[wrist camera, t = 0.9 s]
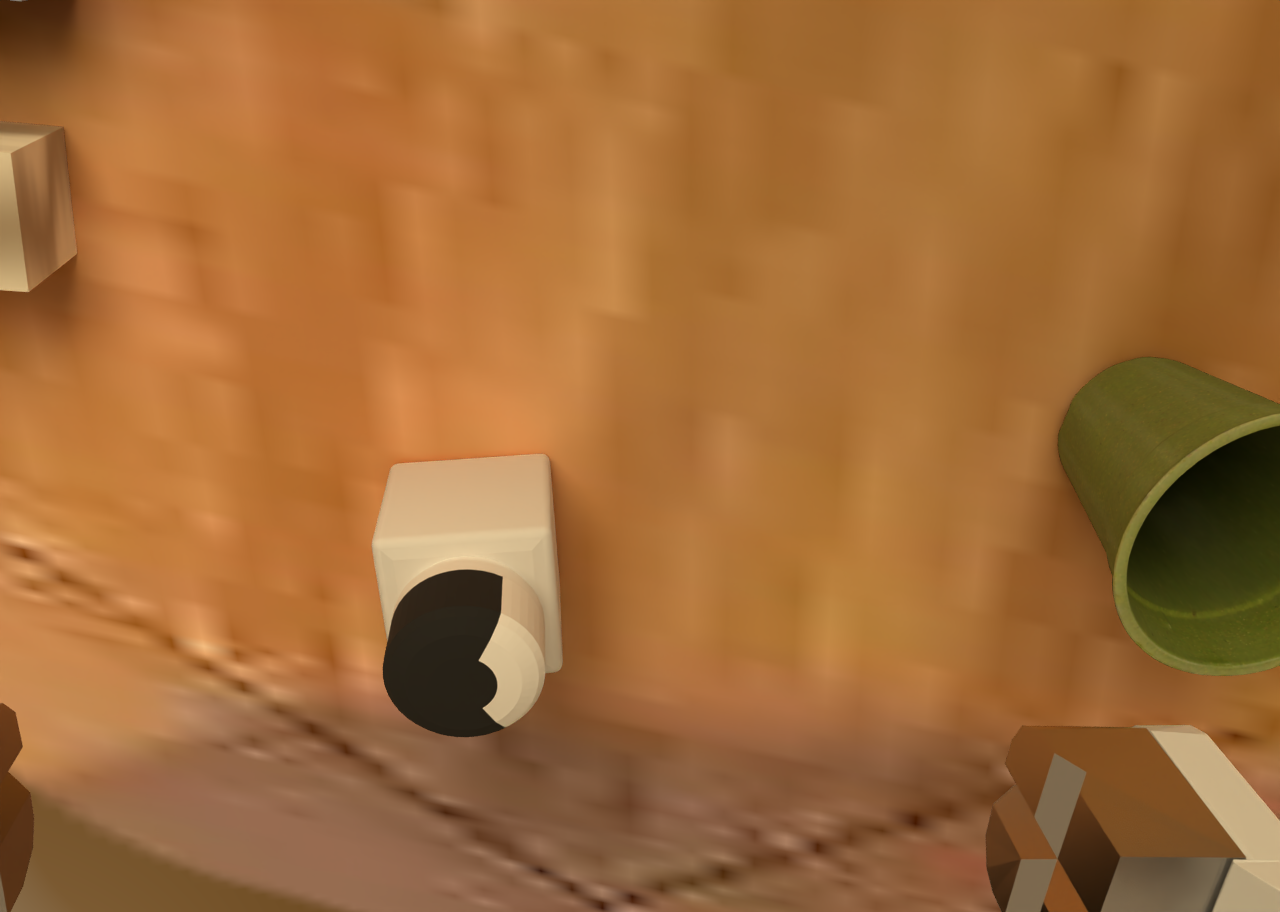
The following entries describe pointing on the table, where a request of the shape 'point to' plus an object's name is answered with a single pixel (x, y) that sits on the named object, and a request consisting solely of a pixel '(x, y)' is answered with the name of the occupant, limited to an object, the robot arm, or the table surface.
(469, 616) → the medicine bottle
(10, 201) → the ash cube
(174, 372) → the table surface
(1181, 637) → the plant pot
